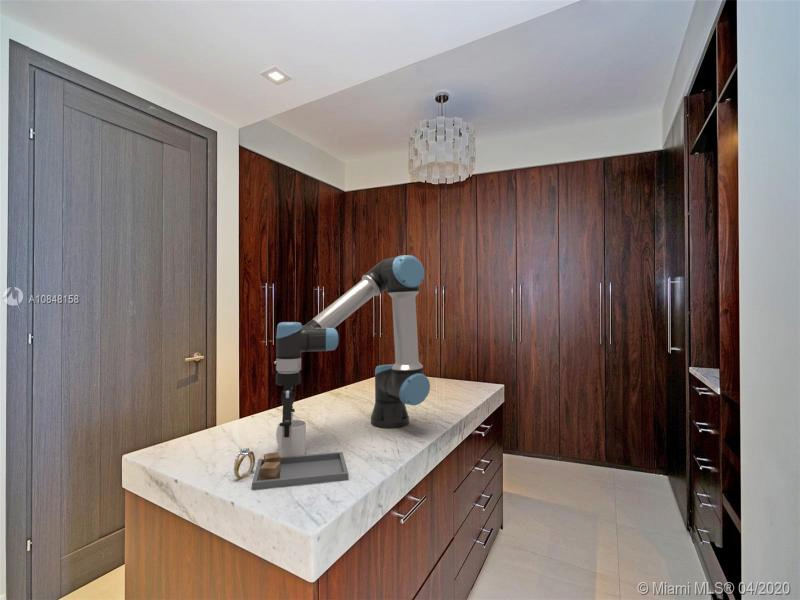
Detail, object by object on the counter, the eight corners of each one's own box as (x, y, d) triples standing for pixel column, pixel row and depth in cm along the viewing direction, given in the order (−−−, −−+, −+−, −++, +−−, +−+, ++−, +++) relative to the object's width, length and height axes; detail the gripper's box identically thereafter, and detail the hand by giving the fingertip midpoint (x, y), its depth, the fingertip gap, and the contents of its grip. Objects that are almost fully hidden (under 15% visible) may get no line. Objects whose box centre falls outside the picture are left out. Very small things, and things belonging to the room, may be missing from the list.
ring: (249, 472, 112) (249, 444, 112) (258, 474, 111) (258, 445, 111) (229, 483, 106) (229, 452, 106) (239, 485, 105) (239, 454, 105)
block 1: (278, 466, 115) (278, 451, 115) (280, 471, 111) (280, 456, 111) (263, 468, 113) (263, 454, 113) (265, 473, 110) (265, 459, 110)
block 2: (280, 477, 107) (280, 462, 107) (275, 483, 103) (275, 468, 103) (265, 477, 108) (265, 462, 108) (259, 483, 104) (259, 468, 104)
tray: (342, 459, 121) (342, 451, 121) (348, 482, 106) (348, 473, 106) (258, 467, 116) (258, 459, 116) (251, 493, 100) (251, 483, 100)
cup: (289, 464, 118) (289, 429, 119) (265, 454, 126) (265, 422, 126) (311, 455, 125) (311, 423, 125) (287, 447, 132) (287, 416, 132)
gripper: (278, 366, 137) (277, 428, 136) (273, 379, 113) (271, 455, 112) (300, 365, 139) (299, 427, 138) (300, 378, 114) (299, 453, 114)
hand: (287, 440), depth 125 cm, fingers open, 13 cm apart
